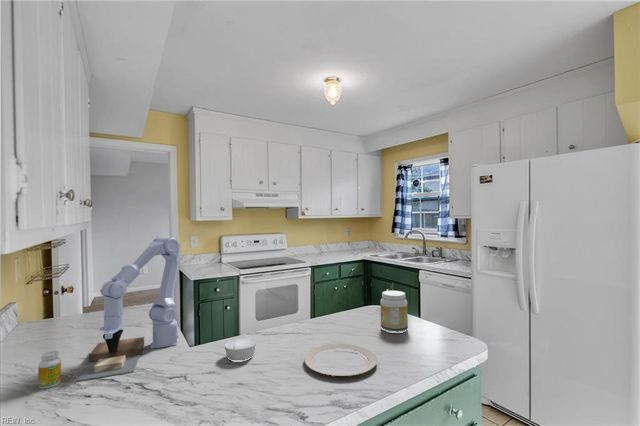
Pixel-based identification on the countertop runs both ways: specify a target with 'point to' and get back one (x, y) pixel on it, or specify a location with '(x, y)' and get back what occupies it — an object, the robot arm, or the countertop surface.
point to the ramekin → (240, 348)
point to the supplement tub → (394, 311)
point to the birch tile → (109, 364)
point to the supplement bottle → (49, 370)
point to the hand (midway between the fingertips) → (113, 352)
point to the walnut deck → (124, 349)
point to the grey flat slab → (89, 370)
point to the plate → (366, 352)
